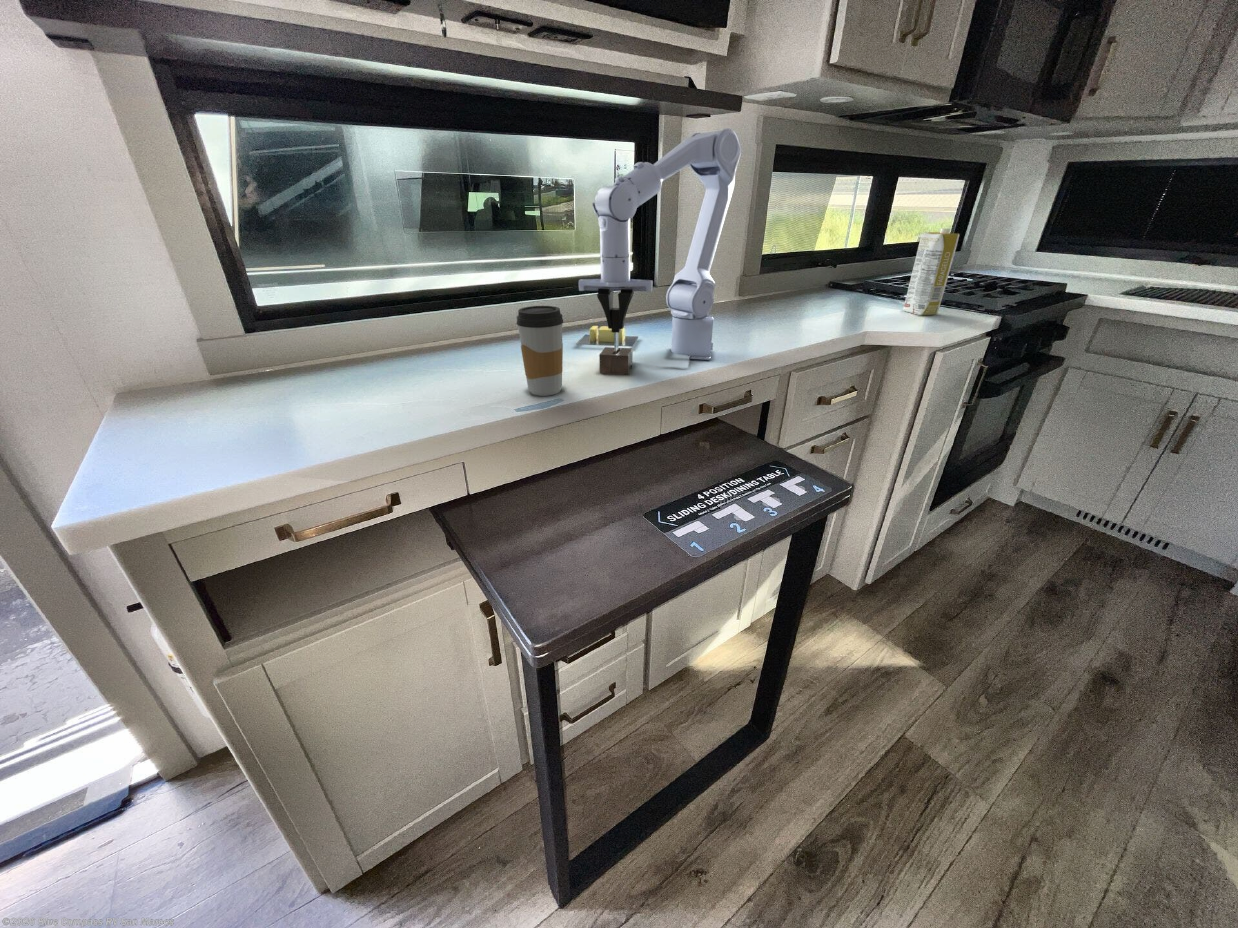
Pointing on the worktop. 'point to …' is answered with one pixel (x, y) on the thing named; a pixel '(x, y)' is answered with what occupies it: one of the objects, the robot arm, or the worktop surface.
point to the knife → (615, 327)
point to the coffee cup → (541, 348)
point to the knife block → (616, 361)
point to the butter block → (610, 335)
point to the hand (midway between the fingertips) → (616, 327)
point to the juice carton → (930, 272)
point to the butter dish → (627, 342)
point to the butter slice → (593, 333)
